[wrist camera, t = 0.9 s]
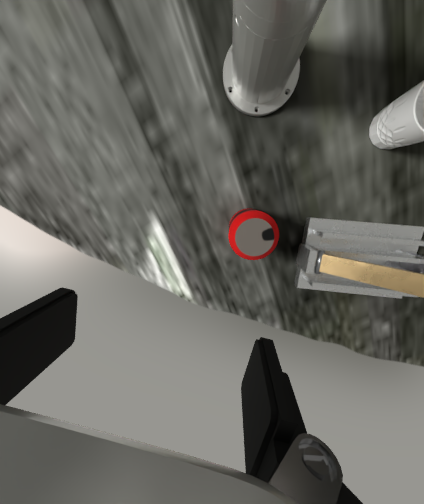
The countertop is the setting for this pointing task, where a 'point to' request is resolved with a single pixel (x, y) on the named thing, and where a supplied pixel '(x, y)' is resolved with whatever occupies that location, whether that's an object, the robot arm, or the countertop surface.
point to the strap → (371, 273)
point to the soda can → (253, 234)
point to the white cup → (400, 121)
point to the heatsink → (357, 252)
